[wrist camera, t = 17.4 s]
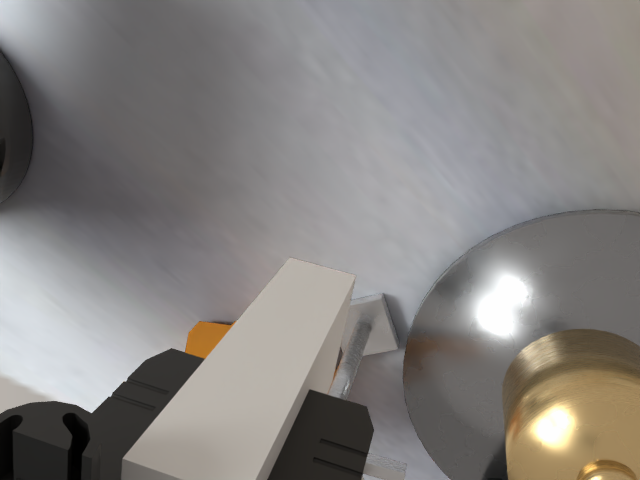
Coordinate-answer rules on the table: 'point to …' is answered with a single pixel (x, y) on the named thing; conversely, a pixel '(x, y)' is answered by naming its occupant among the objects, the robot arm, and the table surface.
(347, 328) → the stand
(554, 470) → the cover
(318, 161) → the table surface
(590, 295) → the turntable
